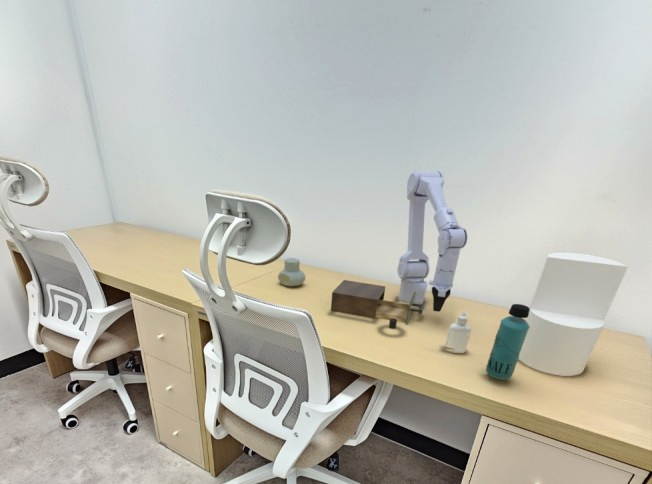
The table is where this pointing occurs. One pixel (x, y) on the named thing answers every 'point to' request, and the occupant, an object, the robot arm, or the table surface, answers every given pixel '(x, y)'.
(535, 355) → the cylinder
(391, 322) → the lid
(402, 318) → the drawer
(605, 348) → the table surface
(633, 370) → the table surface
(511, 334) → the beverage bottle
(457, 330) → the eye dropper bottle
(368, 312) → the cabinet
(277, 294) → the table surface
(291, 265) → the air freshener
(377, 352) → the table surface
